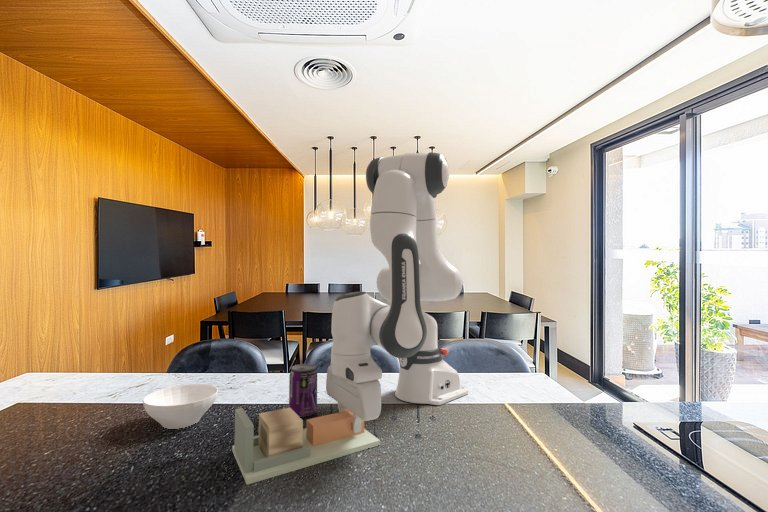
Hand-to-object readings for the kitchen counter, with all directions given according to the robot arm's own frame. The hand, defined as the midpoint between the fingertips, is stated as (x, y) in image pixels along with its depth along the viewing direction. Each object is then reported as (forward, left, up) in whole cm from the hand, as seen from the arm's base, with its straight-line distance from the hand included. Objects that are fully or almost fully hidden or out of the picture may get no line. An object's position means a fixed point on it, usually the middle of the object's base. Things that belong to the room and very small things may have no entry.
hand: (350, 426), depth 81 cm
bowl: (+32, -28, -2) cm, 42 cm away
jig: (+10, 0, -2) cm, 10 cm away
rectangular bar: (+4, 0, -1) cm, 4 cm away
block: (+16, 0, -1) cm, 16 cm away
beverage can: (+5, -18, -2) cm, 19 cm away
